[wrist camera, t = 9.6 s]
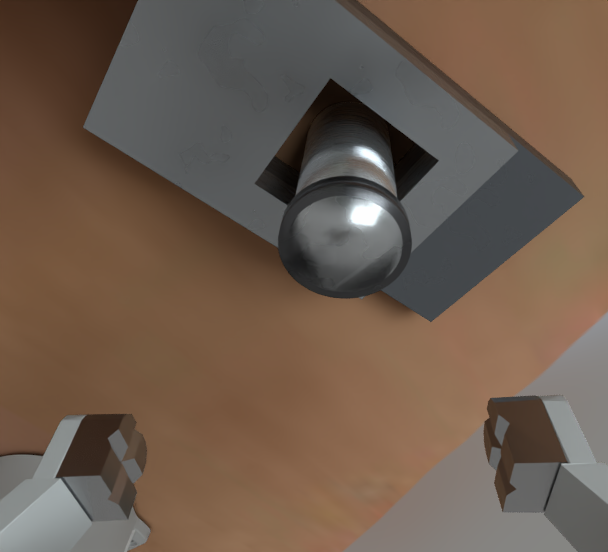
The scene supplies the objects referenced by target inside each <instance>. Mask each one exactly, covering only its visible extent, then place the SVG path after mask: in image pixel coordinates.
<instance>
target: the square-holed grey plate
mask: <svg viewBox="0 0 608 552" xmlns="http://www.w3.org/2000/svg"><path fill="white" fill-rule="evenodd" d="M330 78H331V79H333V80H334V81H335V82H336V83H338V84H339V85H340V86H342V87H343V88H344V89H346V90H347V91H348V92H350V93H351V94H352V95H354V96H355V97H356V98H357V99H359V100H360V101H361V102H363V103H364V104H365V105H367V106H368V107H369V108H371V109H372V110H373V111H375V112H376V113H377V114H378V115H380V116H381V117H382V118H384V119H385V120H386V121H388V122H389V123H390V124H392V125H393V126H394V127H396V128H397V129H398V130H399V131H401V132H402V133H403V134H405V135H406V136H407V137H409V138H410V139H411V140H413V141H414V142H415V143H416V144H415V145H414V146H413V147H412V148H411V149H410V150H409V151H408V153H407V154H406V155H405V156H404V157H403V158H402V159H401V160H400V161H399V162H398V164H397V165H396V166H395V167H394V176H395V184H396V192H397V199H398V200H399V201H400V202H401V204H402V205H403V207H404V209H405V211H406V213H407V216H408V220H409V224H410V231H411V238H412V250H411V254H410V258H409V260H408V263H407V265H406V267H405V269H404V270H403V271H402V273H401V274H400V275H399V277H398V278H397V279H396V280H394V281H393V282H392V283H391V284H390V285H388V286H387V287H385V288H383V289H382V290H381V291H383V292H385V293H386V294H388V295H389V296H391V297H392V298H394V299H396V300H397V301H399V302H400V303H402V304H403V305H405V306H407V307H408V308H410V309H411V310H413V311H415V312H416V313H418V314H419V315H421V316H422V317H424V318H426V319H427V320H429V321H430V322H432V321H433V320H434V319H435V318H436V317H438V316H439V315H440V314H441V313H443V312H444V311H445V310H446V309H447V308H449V307H450V306H451V305H452V304H454V303H455V302H456V301H457V300H458V299H460V298H461V297H462V296H463V295H465V294H466V293H467V292H468V291H469V290H471V289H472V288H473V287H474V286H476V285H477V284H478V283H479V282H480V281H482V280H483V279H484V278H485V277H487V276H488V275H489V274H490V273H492V272H493V271H494V270H495V269H496V268H498V267H499V266H500V265H501V264H503V263H504V262H505V261H506V260H507V259H509V258H510V257H511V256H512V255H514V254H515V253H516V252H517V251H518V250H520V249H521V248H522V247H523V246H525V245H526V244H527V243H528V242H529V241H531V240H532V239H533V238H534V237H536V236H537V235H538V234H539V233H540V232H542V231H543V230H544V229H545V228H547V227H548V226H549V225H550V224H552V223H553V222H554V221H555V220H556V219H558V218H559V217H560V216H561V215H563V214H564V213H565V212H566V211H567V210H569V209H570V208H571V207H572V206H574V205H575V204H576V203H577V202H578V201H580V200H581V199H582V198H583V197H584V196H583V194H582V193H581V192H580V190H579V189H578V188H577V186H576V185H575V184H574V182H573V181H572V179H571V178H569V177H568V176H567V175H566V174H565V173H563V172H562V171H561V170H560V169H559V168H557V167H556V166H555V165H554V164H553V163H551V162H550V161H549V160H548V159H547V158H545V157H544V156H543V155H542V154H541V153H539V152H538V151H537V150H536V149H535V148H533V147H532V146H531V145H530V144H529V143H527V142H526V141H525V140H524V139H523V138H521V137H520V136H519V135H518V134H517V133H515V132H514V131H513V130H512V129H511V128H509V127H508V126H507V125H506V124H505V123H503V122H502V121H501V120H500V119H499V118H497V117H496V116H495V115H494V114H493V113H491V112H490V111H489V110H488V109H487V108H485V107H484V106H483V105H482V104H481V103H479V102H478V101H477V100H476V99H475V98H473V97H472V96H471V95H470V94H469V93H467V92H466V91H465V90H464V89H463V88H461V87H460V86H459V85H458V84H457V83H455V82H454V81H453V80H452V79H451V78H449V77H448V76H447V75H446V74H445V73H443V72H442V71H441V70H440V69H439V68H437V67H436V66H435V65H434V64H432V63H431V62H430V61H429V60H428V59H426V58H425V57H424V56H423V55H422V54H420V53H419V52H418V51H417V50H416V49H414V48H413V47H412V46H411V45H410V44H408V43H407V42H406V41H405V40H404V39H402V38H401V37H400V36H399V35H398V34H396V33H395V32H394V31H393V30H392V29H390V28H389V27H388V26H387V25H386V24H384V23H383V22H382V21H381V20H380V19H378V18H377V17H376V16H375V15H374V14H372V13H371V12H370V11H369V10H368V9H366V8H365V7H364V6H363V5H362V4H360V3H359V2H358V1H357V0H138V2H137V4H136V6H135V9H134V11H133V13H132V16H131V18H130V20H129V23H128V25H127V27H126V29H125V32H124V34H123V36H122V39H121V41H120V43H119V46H118V48H117V50H116V52H115V55H114V57H113V59H112V62H111V64H110V66H109V69H108V71H107V73H106V76H105V78H104V80H103V82H102V85H101V87H100V89H99V92H98V94H97V96H96V99H95V101H94V103H93V105H92V108H91V110H90V112H89V115H88V117H87V119H86V122H85V124H84V126H83V128H85V129H86V130H88V131H90V132H91V133H93V134H95V135H96V136H98V137H99V138H101V139H103V140H104V141H106V142H108V143H109V144H111V145H112V146H114V147H116V148H117V149H119V150H120V151H122V152H124V153H125V154H127V155H129V156H130V157H132V158H133V159H135V160H137V161H138V162H140V163H142V164H143V165H145V166H146V167H148V168H150V169H151V170H153V171H155V172H156V173H158V174H159V175H161V176H163V177H164V178H166V179H167V180H169V181H171V182H172V183H174V184H176V185H177V186H179V187H180V188H182V189H184V190H185V191H187V192H189V193H190V194H192V195H193V196H195V197H197V198H198V199H200V200H201V201H203V202H205V203H206V204H208V205H210V206H211V207H213V208H214V209H216V210H218V211H219V212H221V213H223V214H224V215H226V216H227V217H229V218H231V219H232V220H234V221H235V222H237V223H239V224H240V225H242V226H244V227H245V228H247V229H248V230H250V231H252V232H253V233H255V234H257V235H258V236H260V237H261V238H263V239H265V240H266V241H268V242H269V243H271V244H273V245H274V246H276V247H278V235H279V230H280V225H281V221H282V217H283V214H284V211H285V210H286V208H287V206H288V204H289V203H290V201H291V200H292V199H293V198H294V197H295V195H296V190H297V185H298V180H299V175H300V173H299V172H297V171H296V170H294V169H293V168H291V167H290V166H288V165H287V164H285V163H284V162H282V161H281V160H280V159H278V158H277V157H275V154H276V153H277V152H278V150H279V149H280V147H281V146H282V145H283V143H284V142H285V140H286V139H287V138H288V136H289V135H290V133H291V132H292V131H293V129H294V128H295V127H296V125H297V124H298V122H299V121H300V120H301V118H302V117H303V115H304V114H305V113H306V111H307V110H308V108H309V107H310V106H311V104H312V103H313V101H314V100H315V99H316V97H317V96H318V95H319V93H320V92H321V90H322V89H323V88H324V86H325V85H326V83H327V82H328V81H329V79H330ZM364 297H365V296H363V297H359V298H360V299H363V298H364Z"/></svg>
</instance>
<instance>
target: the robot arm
mask: <svg viewBox="0 0 608 552" xmlns="http://www.w3.org/2000/svg"><path fill="white" fill-rule="evenodd" d="M487 411H488V414H489V417H490V418H489V419H487V420H486V421H485V424H484V445H485V450H486V455H487V459H488V462H489V464H490V465H491V466H492V467H493V468H494V469H495V470H496V476H495V482H494V484H495V487H496V490H497V494H498V498H499V501H500V504H501V508H502V511H503V512H545V513H544V515H545V516H546V517H547V518H548V519H549V521H550V522H551V523H552V524H553V525H554V526H555V527H556V528H557V529H558V530H559V532H560V533H561V534H562V535H563V536H564V537H565V538H566V539H567V540H568V541H569V542H570V544H571V545H572V546H573V547H574V548H575V549H576V550H577V551H578V552H608V465H607V464H606V463H604V462H602V463H601V462H596V460H595V457H594V455H593V453H592V451H591V449H590V447H589V445H588V443H587V441H586V439H585V436H584V435H583V433H582V430H581V428H580V426H579V424H578V422H577V420H576V418H575V416H574V414H573V411H572V409H571V407H570V405H569V403H568V401H567V399H566V398H565V397H564V396H563V395H551V396H520V397H502V398H490V400H489V401H488V406H487ZM135 426H136V421H135V419H134V417H133V415H132V414H93V415H89V414H88V415H67V416H66V417H65V418H64V419H62V420H61V422H60V424H59V426H58V428H57V429H56V431H55V433H54V435H53V437H52V439H51V441H50V443H49V445H48V447H47V449H46V451H45V453H44V455H43V456H37V455H8V456H2V457H0V552H127V551H129V550H131V549H133V548H135V547H137V546H139V545H142V544H144V543H145V542H146V541H147V539H148V537H149V534H150V532H151V531H150V529H149V527H148V526H147V525H146V524H145V523H144V522H143V521H141V520H140V519H139V518H138V517H137V515H136V513H135V511H134V508H133V503H134V500H135V497H136V494H137V491H136V489H135V486H134V484H133V483H134V482H135V481H136V480H137V479H138V478H139V477H140V476H141V475H142V474H143V471H144V468H145V464H146V456H147V447H146V441H145V439H144V437H143V435H142V434H141V433H139V432H138V431H136V430H135V429H134V428H135Z"/></svg>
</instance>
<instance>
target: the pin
mask: <svg viewBox="0 0 608 552" xmlns="http://www.w3.org/2000/svg"><path fill="white" fill-rule="evenodd" d="M278 250H279V254H280V258H281V260H282V263H283V265H284V267H285V268H286V270H287V271H288V272H289V274H290V275H291V276H292V277H293V278H294V279H295V280H296V281H297V282H298V283H300V284H301V285H302V286H304V287H305V288H307V289H309V290H311V291H313V292H315V293H318V294H321V295H324V296H328V297H333V298H358V297H363V296H367V295H370V294H373V293H375V292H378V291H380V290H382V289H383V288H385V287H387V286H388V285H390V284H391V283H392V282H393V281H394V280H396V279H397V278H398V277H399V275H400V274H401V273H402V271H403V270H404V269H405V267H406V265H407V263H408V260H409V258H410V254H411V250H412V238H411V231H410V224H409V220H408V216H407V213H406V211H405V209H404V207H403V205H402V204H401V202H400V201H399V200H398V199H397V192H396V184H395V176H394V168H393V160H392V152H391V144H390V136H389V131H388V128H387V125H386V123H385V121H384V120H383V118H382V117H381V116H380V115H378V114H377V113H376V112H375V111H373V110H372V109H371V108H369V107H368V106H367V105H364V104H362V103H357V102H341V103H337V104H333V105H331V106H329V107H327V108H326V109H324V110H323V111H322V112H320V113H319V114H318V115H317V116H316V118H315V119H314V120H313V122H312V124H311V126H310V128H309V131H308V135H307V140H306V145H305V150H304V155H303V160H302V165H301V170H300V175H299V180H298V185H297V190H296V195H295V197H294V198H293V199H292V200H291V201H290V203H289V204H288V206H287V208H286V210H285V211H284V214H283V217H282V221H281V225H280V230H279V235H278Z"/></svg>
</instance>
